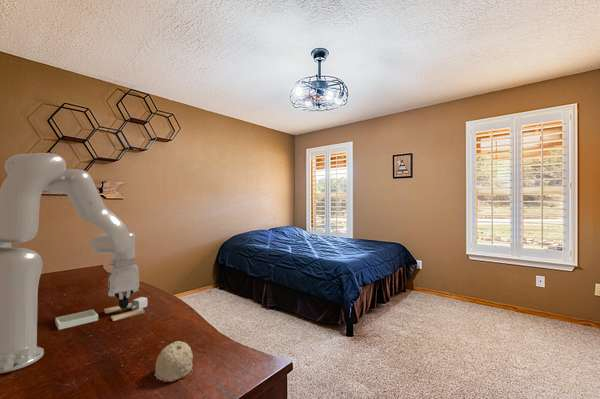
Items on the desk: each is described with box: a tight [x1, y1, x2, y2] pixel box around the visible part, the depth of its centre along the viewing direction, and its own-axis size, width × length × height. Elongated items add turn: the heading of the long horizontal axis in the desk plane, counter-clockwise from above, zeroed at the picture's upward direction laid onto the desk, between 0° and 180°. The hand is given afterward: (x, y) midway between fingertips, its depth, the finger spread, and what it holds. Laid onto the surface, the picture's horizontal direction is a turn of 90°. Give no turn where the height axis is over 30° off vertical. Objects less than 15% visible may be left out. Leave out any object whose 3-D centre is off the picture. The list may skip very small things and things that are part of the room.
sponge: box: [154, 340, 194, 381], centre depth 76 cm, size 9×10×10 cm
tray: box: [54, 309, 99, 331], centre depth 108 cm, size 8×12×2 cm
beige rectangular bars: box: [103, 302, 146, 322], centre depth 117 cm, size 14×11×1 cm
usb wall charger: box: [127, 296, 148, 311], centre depth 120 cm, size 4×7×4 cm, turn 163°
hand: (123, 308), depth 117 cm, fingers closed
